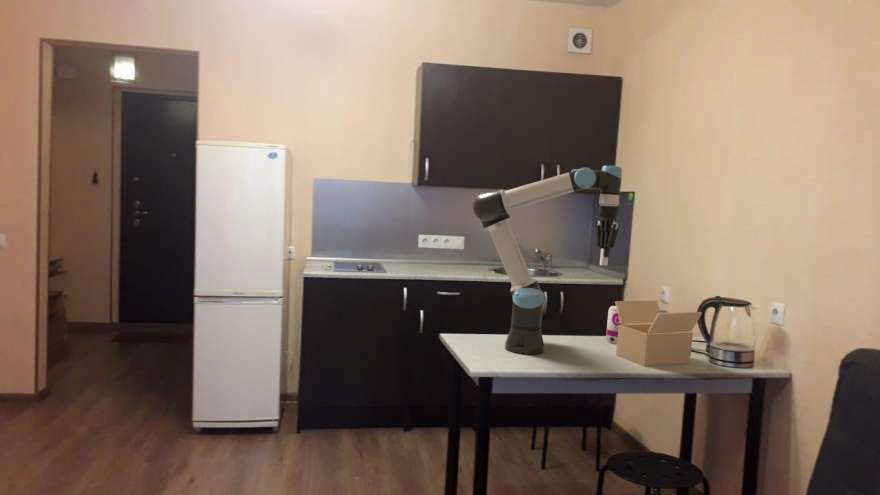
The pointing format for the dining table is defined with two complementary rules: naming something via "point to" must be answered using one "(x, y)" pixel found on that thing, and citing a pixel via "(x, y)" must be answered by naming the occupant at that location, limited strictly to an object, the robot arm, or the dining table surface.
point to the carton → (653, 346)
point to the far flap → (637, 311)
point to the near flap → (674, 322)
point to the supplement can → (612, 325)
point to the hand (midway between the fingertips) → (603, 265)
